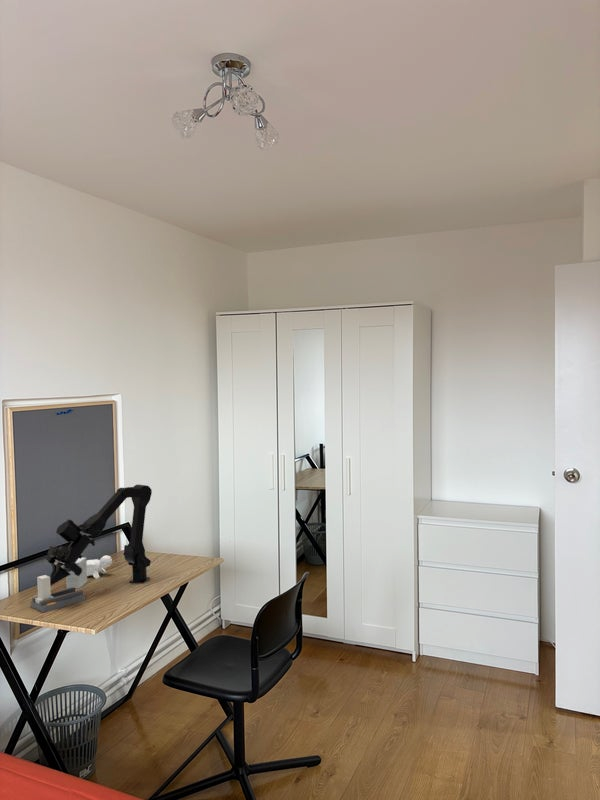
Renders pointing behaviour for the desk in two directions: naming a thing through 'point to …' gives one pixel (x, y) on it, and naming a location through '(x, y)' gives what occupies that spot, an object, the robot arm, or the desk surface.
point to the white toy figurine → (98, 566)
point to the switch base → (59, 599)
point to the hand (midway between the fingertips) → (48, 585)
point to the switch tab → (43, 588)
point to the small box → (78, 580)
